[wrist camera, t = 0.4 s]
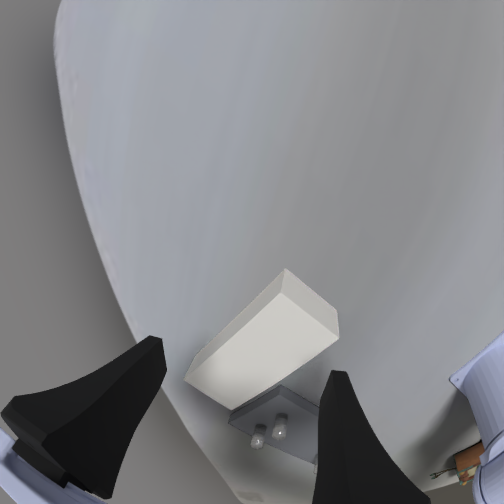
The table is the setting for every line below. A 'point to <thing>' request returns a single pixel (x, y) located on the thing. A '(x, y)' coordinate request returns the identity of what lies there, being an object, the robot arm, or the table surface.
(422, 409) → the table surface
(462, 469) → the decorative book
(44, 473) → the robot arm
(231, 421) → the peg stand
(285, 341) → the white rectangular block
